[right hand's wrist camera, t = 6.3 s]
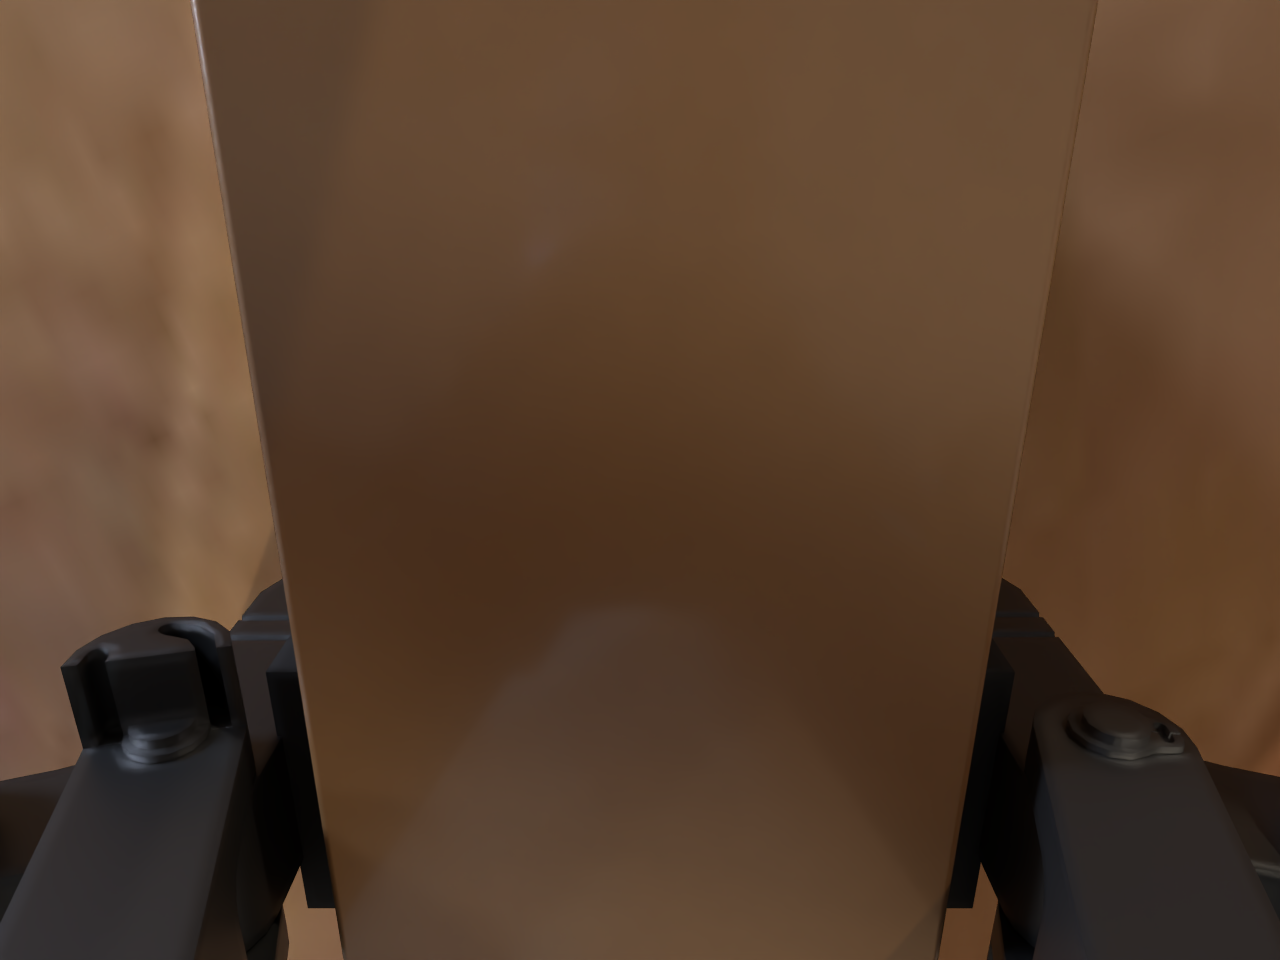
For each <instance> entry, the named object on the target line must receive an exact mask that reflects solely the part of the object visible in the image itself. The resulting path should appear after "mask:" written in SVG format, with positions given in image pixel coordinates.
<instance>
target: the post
mask: <svg viewBox="0 0 1280 960" xmlns="http://www.w3.org/2000/svg"><path fill="white" fill-rule="evenodd" d="M190 3H191V10H192V16H193V22H194V28H195V35H196V41H197V47H198V53H199V60H200V66H201V72H202V78H203V85H204V91H205V97H206V103H207V110H208V116H209V122H210V128H211V135H212V141H213V147H214V153H215V160H216V166H217V172H218V178H219V185H220V191H221V197H222V203H223V210H224V216H225V222H226V228H227V235H228V241H229V247H230V253H231V260H232V266H233V272H234V278H235V285H236V291H237V297H238V303H239V310H240V316H241V322H242V328H243V335H244V341H245V347H246V353H247V359H248V366H249V372H250V378H251V384H252V391H253V397H254V403H255V409H256V416H257V422H258V428H259V434H260V441H261V447H262V453H263V459H264V466H265V472H266V478H267V484H268V491H269V497H270V503H271V509H272V516H273V522H274V528H275V534H276V541H277V547H278V553H279V559H280V566H281V572H282V578H283V584H284V591H285V597H286V603H287V609H288V616H289V622H290V628H291V634H292V641H293V647H294V653H295V659H296V666H297V672H298V678H299V684H300V691H301V697H302V703H303V709H304V716H305V722H306V728H307V734H308V741H309V747H310V753H311V759H312V766H313V772H314V778H315V784H316V791H317V797H318V803H319V809H320V816H321V822H322V828H323V834H324V841H325V847H326V853H327V859H328V866H329V872H330V878H331V884H332V891H333V897H334V903H335V909H336V916H337V922H338V928H339V934H340V941H341V947H342V953H343V959H344V960H938V956H939V950H940V944H941V938H942V932H943V926H944V920H945V914H946V908H947V902H948V896H949V890H950V884H951V878H952V872H953V866H954V860H955V854H956V848H957V842H958V836H959V830H960V824H961V818H962V812H963V807H964V801H965V795H966V789H967V783H968V777H969V771H970V765H971V759H972V753H973V747H974V741H975V735H976V729H977V723H978V717H979V711H980V705H981V699H982V693H983V687H984V681H985V675H986V669H987V663H988V657H989V651H990V645H991V639H992V633H993V627H994V621H995V615H996V609H997V603H998V597H999V591H1000V585H1001V579H1002V573H1003V567H1004V561H1005V555H1006V549H1007V543H1008V537H1009V531H1010V525H1011V519H1012V513H1013V507H1014V501H1015V495H1016V489H1017V483H1018V477H1019V471H1020V465H1021V459H1022V453H1023V447H1024V441H1025V435H1026V429H1027V423H1028V417H1029V411H1030V405H1031V399H1032V393H1033V387H1034V382H1035V376H1036V370H1037V364H1038V358H1039V352H1040V346H1041V340H1042V334H1043V328H1044V322H1045V316H1046V310H1047V304H1048V298H1049V292H1050V286H1051V280H1052V274H1053V268H1054V262H1055V256H1056V250H1057V244H1058V238H1059V232H1060V226H1061V220H1062V214H1063V208H1064V202H1065V196H1066V190H1067V184H1068V178H1069V172H1070V166H1071V160H1072V154H1073V148H1074V142H1075V136H1076V130H1077V124H1078V118H1079V112H1080V106H1081V100H1082V94H1083V88H1084V82H1085V76H1086V70H1087V64H1088V58H1089V52H1090V46H1091V40H1092V34H1093V28H1094V22H1095V16H1096V10H1097V4H1098V0H190Z"/></svg>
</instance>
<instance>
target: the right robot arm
mask: <svg viewBox="0 0 1280 960" xmlns="http://www.w3.org/2000/svg"><path fill="white" fill-rule="evenodd" d="M1054 633H1055V632H1054V631H1053V630H1052V628H1051V627H1050V626H1049V625H1048V623H1047V622H1046V621H1045V620H1044V618H1043V617H1039V612H1038V611H1037V610H1036V608H1035V607H1034V606H1033V605H1032V603H1031V602H1030V601H1029V600H1028V598H1027V597H1026V596H1025V595H1024V593H1023V592H1022V591H1021V590H1020V589H1019V588H1017V587H1016V586H1014V585H1012V584H1011V583H1009V582H1008V581H1006V580H1004V579H1003V578H1002V579H1001V585H1000V591H999V597H998V603H997V609H996V615H995V621H994V627H993V633H992V639H991V645H990V651H989V657H988V663H987V669H986V675H985V681H984V687H983V693H982V699H981V705H980V711H979V717H978V723H977V729H976V735H975V741H974V747H973V753H972V759H971V765H970V771H969V777H968V783H967V789H966V795H965V801H964V807H963V812H962V818H961V824H960V830H959V836H958V842H957V848H956V854H955V860H954V866H953V872H952V878H951V884H950V890H949V896H948V902H947V908H973V903H974V897H975V892H976V886H977V881H978V875H979V870H980V864H981V863H982V866H983V868H984V870H985V872H986V874H987V876H988V879H989V881H990V883H991V885H992V887H993V890H994V892H995V894H996V896H997V898H998V904H997V909H996V914H995V920H994V925H993V930H992V935H991V940H990V945H989V951H988V956H987V960H1280V777H1277V776H1272V775H1267V774H1262V773H1257V772H1252V771H1247V770H1242V769H1237V768H1232V767H1227V766H1222V765H1218V764H1215V763H1211V762H1207V761H1203V759H1202V757H1201V755H1200V753H1199V751H1198V749H1197V747H1196V746H1195V744H1194V743H1193V742H1192V741H1191V739H1190V738H1189V737H1188V736H1187V734H1186V733H1185V732H1184V731H1183V729H1181V728H1180V727H1179V726H1177V725H1176V724H1174V723H1173V722H1171V721H1170V720H1169V719H1167V718H1166V717H1164V716H1163V715H1161V714H1160V713H1158V712H1156V711H1154V710H1152V709H1149V708H1147V707H1145V706H1142V705H1140V704H1138V703H1135V702H1133V701H1131V700H1128V699H1123V698H1119V697H1115V696H1110V695H1106V694H1104V693H1103V692H1102V691H1101V690H1100V688H1099V687H1098V686H1097V685H1096V683H1095V682H1094V681H1093V680H1092V678H1091V677H1090V676H1089V675H1088V673H1087V672H1086V671H1085V670H1084V668H1083V667H1082V666H1081V665H1080V663H1079V662H1078V661H1077V660H1076V658H1075V657H1074V656H1073V655H1072V653H1071V652H1070V651H1069V650H1068V648H1067V647H1066V646H1065V645H1064V643H1063V642H1062V641H1061V640H1060V638H1059V637H1055V635H1054ZM61 671H62V675H63V678H64V682H65V685H66V689H67V693H68V696H69V700H70V703H71V707H72V710H73V714H74V718H75V721H76V725H77V728H78V732H79V736H80V739H81V743H82V746H83V750H82V752H81V754H80V757H79V759H78V761H77V763H76V765H74V766H70V767H66V768H62V769H59V770H54V771H49V772H44V773H39V774H34V775H29V776H24V777H19V778H14V779H9V780H4V781H0V960H287V957H288V948H289V939H288V932H287V925H286V920H285V914H284V909H283V902H284V900H285V898H286V896H287V893H288V891H289V889H290V887H291V885H292V882H293V880H294V878H295V876H296V874H297V871H298V869H299V867H300V866H301V872H302V878H303V883H304V889H305V894H306V900H307V905H308V908H335V903H334V897H333V891H332V884H331V878H330V872H329V866H328V859H327V853H326V847H325V841H324V834H323V828H322V822H321V816H320V809H319V803H318V797H317V791H316V784H315V778H314V772H313V766H312V759H311V753H310V747H309V741H308V734H307V728H306V722H305V716H304V709H303V703H302V697H301V691H300V684H299V678H298V672H297V666H296V659H295V653H294V647H293V641H292V634H291V628H290V622H289V616H288V609H287V603H286V597H285V591H284V584H283V579H281V580H280V581H278V582H277V583H275V584H273V585H272V586H270V587H269V588H267V589H265V590H264V591H262V592H261V593H260V594H259V595H258V596H257V598H256V599H255V600H254V602H253V603H252V604H251V605H250V607H249V608H248V609H247V610H246V612H245V613H244V614H243V615H242V621H238V622H237V623H236V624H235V626H234V627H233V628H232V629H231V631H228V630H227V629H226V628H224V627H223V626H222V625H220V624H219V623H218V622H216V621H212V620H207V619H202V618H197V617H166V618H160V619H155V620H150V621H145V622H140V623H135V624H131V625H129V626H126V627H123V628H120V629H118V630H115V631H112V632H110V633H107V634H104V635H102V636H100V637H98V638H97V639H95V640H93V641H92V642H90V643H88V644H86V645H85V646H83V647H81V648H80V649H78V650H76V651H75V653H74V654H73V655H72V656H71V657H70V658H69V659H68V660H67V661H66V662H65V663H64V664H63V665H62V666H61Z"/></svg>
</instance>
